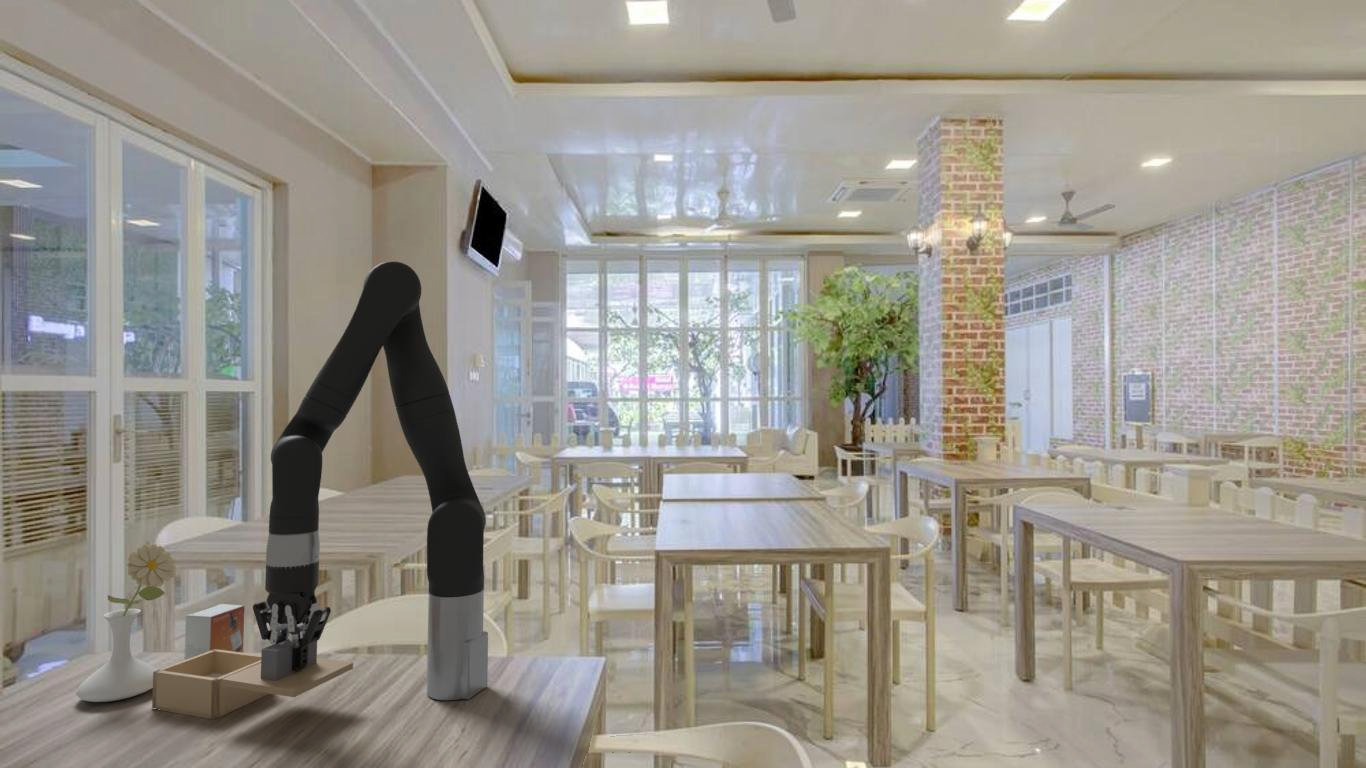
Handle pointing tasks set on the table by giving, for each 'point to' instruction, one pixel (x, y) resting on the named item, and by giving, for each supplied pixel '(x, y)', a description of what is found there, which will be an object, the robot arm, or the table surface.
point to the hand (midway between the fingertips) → (289, 667)
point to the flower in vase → (129, 632)
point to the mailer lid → (286, 671)
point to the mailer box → (203, 684)
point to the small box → (214, 630)
